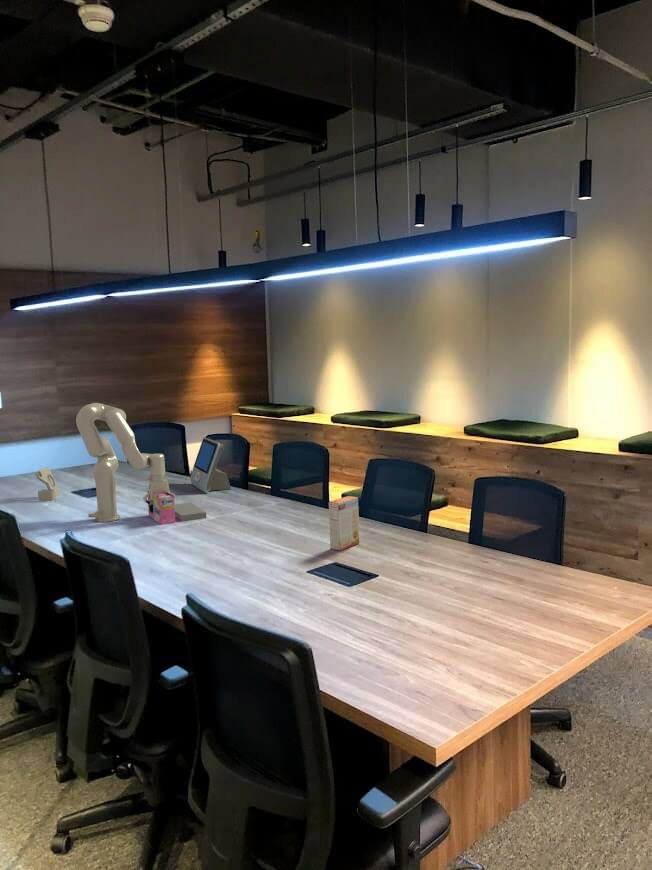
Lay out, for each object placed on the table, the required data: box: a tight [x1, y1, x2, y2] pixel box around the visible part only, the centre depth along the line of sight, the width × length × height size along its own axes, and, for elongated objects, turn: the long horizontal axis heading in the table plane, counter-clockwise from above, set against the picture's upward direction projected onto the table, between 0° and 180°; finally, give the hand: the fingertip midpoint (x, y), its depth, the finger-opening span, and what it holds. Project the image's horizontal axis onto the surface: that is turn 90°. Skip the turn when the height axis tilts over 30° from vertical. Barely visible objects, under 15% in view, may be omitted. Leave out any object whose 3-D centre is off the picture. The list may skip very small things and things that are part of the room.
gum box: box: [147, 489, 176, 525], centre depth 367 cm, size 24×8×14 cm, turn 29°
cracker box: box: [328, 495, 360, 552], centre depth 309 cm, size 14×6×21 cm, turn 141°
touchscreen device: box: [190, 437, 232, 494], centre depth 443 cm, size 35×20×30 cm, turn 25°
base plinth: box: [175, 501, 207, 522], centre depth 375 cm, size 13×27×3 cm, turn 28°
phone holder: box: [35, 467, 62, 501], centre depth 422 cm, size 17×10×18 cm, turn 178°
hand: (160, 511), depth 369 cm, fingers closed on gum box, 8 cm apart
